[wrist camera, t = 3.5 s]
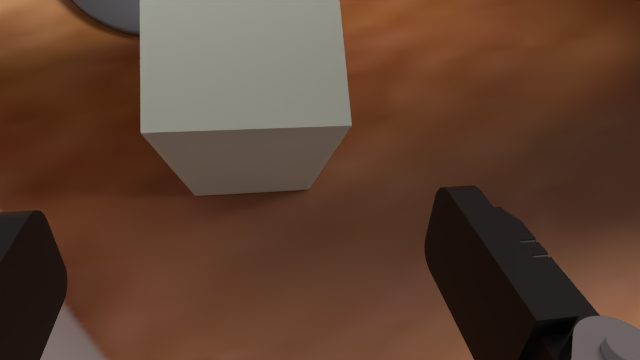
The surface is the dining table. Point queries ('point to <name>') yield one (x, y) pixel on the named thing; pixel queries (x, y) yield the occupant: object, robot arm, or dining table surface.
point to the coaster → (114, 13)
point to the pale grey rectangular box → (243, 91)
